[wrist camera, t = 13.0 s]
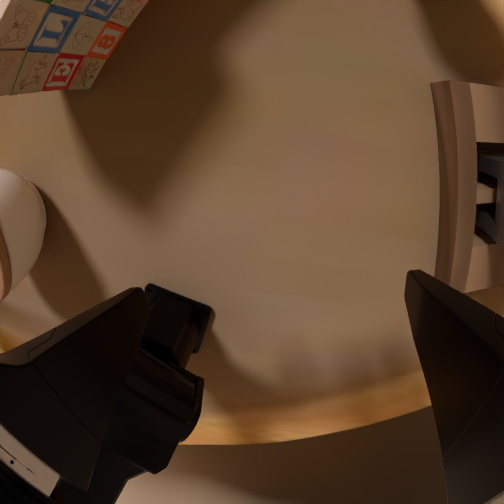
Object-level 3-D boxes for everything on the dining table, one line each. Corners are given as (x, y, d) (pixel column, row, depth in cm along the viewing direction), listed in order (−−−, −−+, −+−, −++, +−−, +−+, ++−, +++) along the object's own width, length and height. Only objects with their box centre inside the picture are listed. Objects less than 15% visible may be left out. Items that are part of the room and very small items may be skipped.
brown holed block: (434, 277, 22) (447, 296, 19) (430, 83, 15) (449, 80, 12) (512, 262, 20) (528, 277, 17) (518, 94, 13) (540, 96, 10)
